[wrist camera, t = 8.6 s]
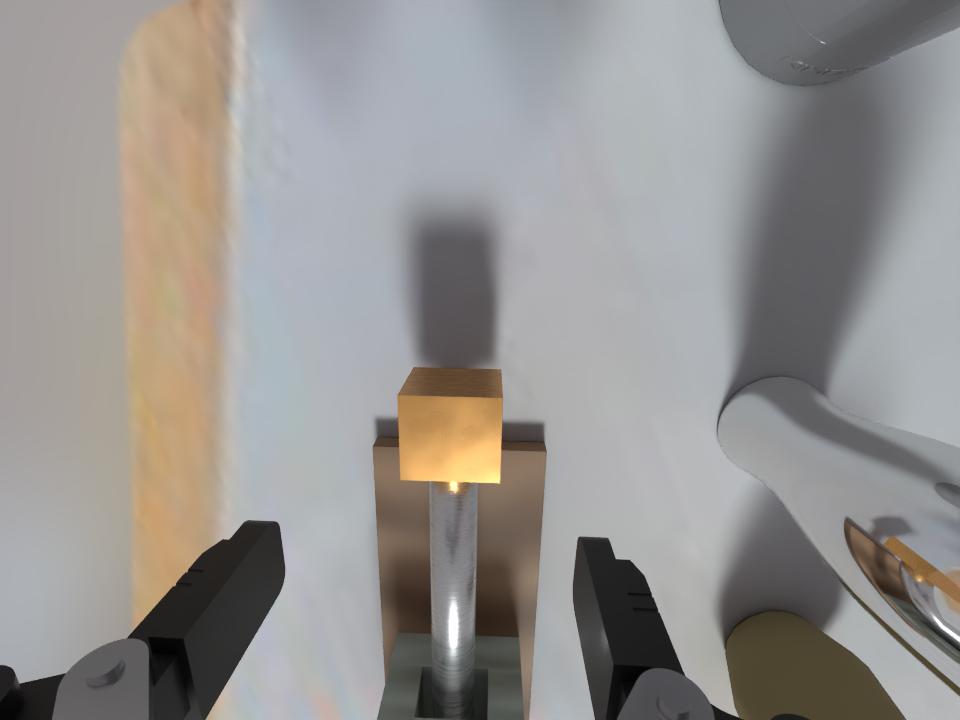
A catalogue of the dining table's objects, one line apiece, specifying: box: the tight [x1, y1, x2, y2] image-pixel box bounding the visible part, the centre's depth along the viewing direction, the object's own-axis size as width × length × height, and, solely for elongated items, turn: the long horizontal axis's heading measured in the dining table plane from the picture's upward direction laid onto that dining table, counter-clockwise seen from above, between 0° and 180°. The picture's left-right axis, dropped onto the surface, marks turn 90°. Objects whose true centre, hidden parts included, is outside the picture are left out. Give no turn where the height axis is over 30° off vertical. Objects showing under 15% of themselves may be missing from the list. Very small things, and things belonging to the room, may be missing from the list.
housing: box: [373, 437, 547, 720], centre depth 26 cm, size 22×10×8 cm, turn 179°
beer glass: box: [718, 377, 960, 697], centre depth 19 cm, size 7×7×15 cm
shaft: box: [398, 367, 503, 720], centre depth 24 cm, size 22×4×4 cm, turn 179°
